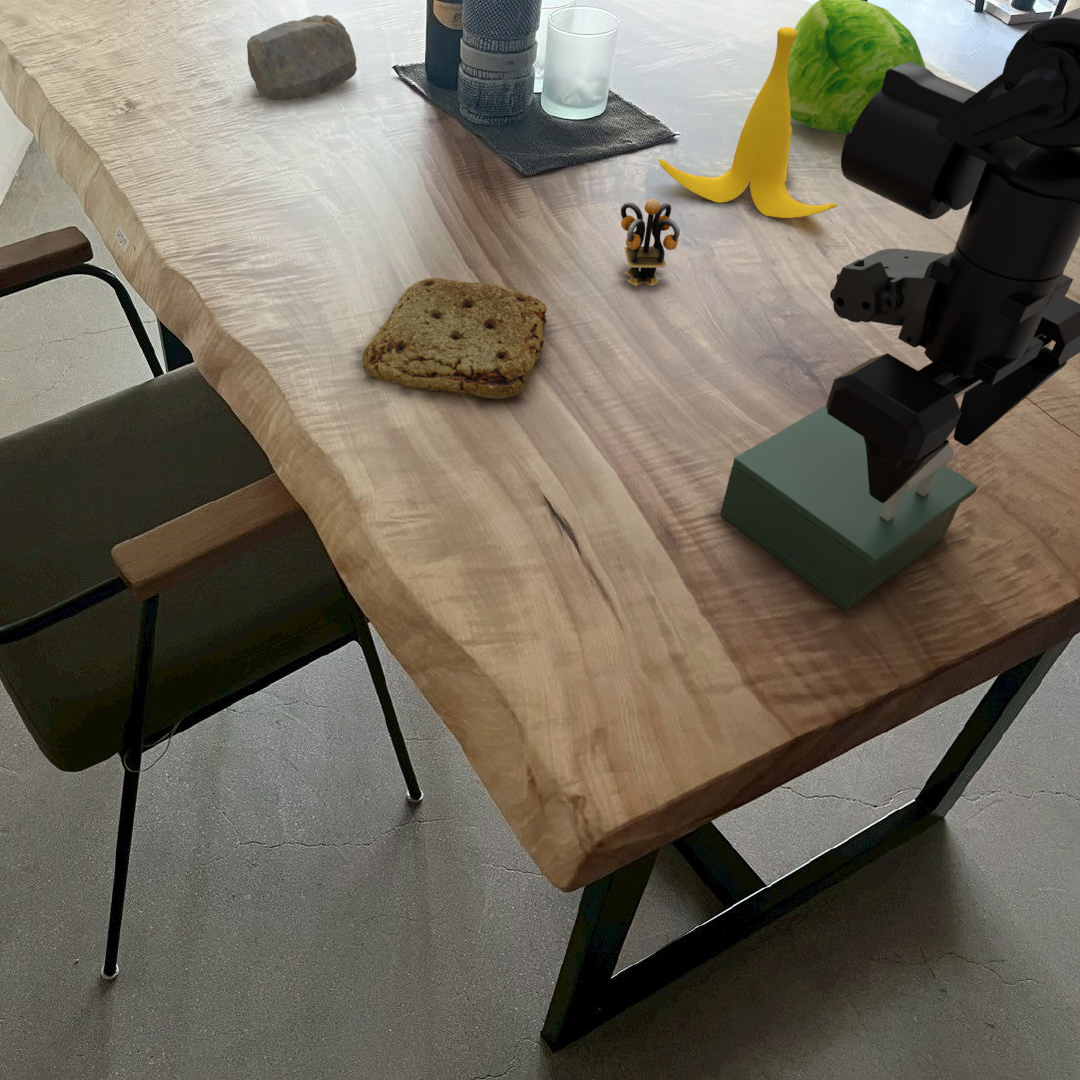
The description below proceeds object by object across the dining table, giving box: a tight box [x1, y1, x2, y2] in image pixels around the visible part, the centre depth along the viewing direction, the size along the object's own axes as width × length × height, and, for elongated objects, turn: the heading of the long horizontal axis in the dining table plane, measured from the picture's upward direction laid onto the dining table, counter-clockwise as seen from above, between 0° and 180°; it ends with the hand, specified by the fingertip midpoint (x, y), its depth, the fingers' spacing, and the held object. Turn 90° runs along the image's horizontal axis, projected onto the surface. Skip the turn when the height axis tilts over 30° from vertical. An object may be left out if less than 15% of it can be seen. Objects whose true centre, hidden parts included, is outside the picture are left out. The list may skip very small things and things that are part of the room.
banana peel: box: [658, 26, 838, 219], centre depth 105 cm, size 17×19×17 cm
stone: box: [246, 14, 358, 101], centre depth 121 cm, size 12×8×8 cm, turn 125°
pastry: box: [361, 277, 548, 400], centre depth 88 cm, size 17×17×3 cm
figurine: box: [620, 198, 681, 287], centre depth 96 cm, size 5×5×8 cm
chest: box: [720, 465, 961, 611], centre depth 75 cm, size 12×12×5 cm
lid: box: [732, 404, 979, 566], centre depth 71 cm, size 12×12×5 cm
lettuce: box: [787, 0, 927, 136], centre depth 121 cm, size 15×20×14 cm
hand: (920, 469), depth 68 cm, fingers open, 9 cm apart
